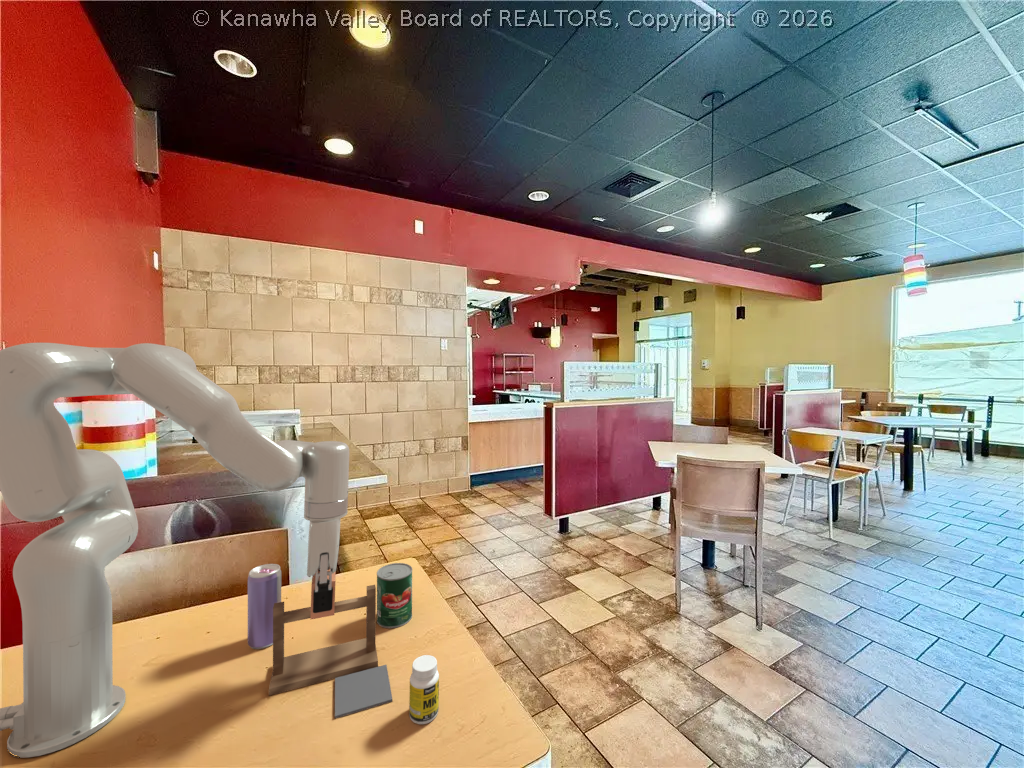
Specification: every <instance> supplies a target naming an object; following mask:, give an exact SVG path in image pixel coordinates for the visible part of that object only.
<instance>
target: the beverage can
mask: <svg viewBox="0 0 1024 768" xmlns="http://www.w3.org/2000/svg"><path fill="white" fill-rule="evenodd" d="M279 602H282V570H281V566H280V565H279V564H277V563H265V564H261V565H258V566H256V567H254V568H252V569H251V570H249V572H248V576H247V645H248V646H249V648H251V649H252V650H262V649H265V648H269V647H272V646H273V606H274V603H279Z"/></svg>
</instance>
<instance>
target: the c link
mask: <svg viewBox="0 0 1024 768" xmlns="http://www.w3.org/2000/svg"><path fill="white" fill-rule="evenodd" d="M327 571H330V570H327ZM336 571H337V570H336ZM336 571H335V572H334V573H333V572H332V587H333V601H332V610H330V611H324V612H319V613H313V595H314V590H315V579H316V576H315V575H316V572H315V575H314V576H311V577H312V578H311V585H310V586H311V591H310V607H311V617H310V618H309V619H310V620H316V619H320V618H321V619H322V618H326V617H331V616H335V613H334V611H335V602H336V580H337V579H336V573H337V572H336ZM318 573H320V571H318ZM327 579H328V580H329V575H328V576H327ZM319 580H320V577H319ZM328 586H329V585H328Z"/></svg>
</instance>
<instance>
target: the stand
mask: <svg viewBox="0 0 1024 768" xmlns="http://www.w3.org/2000/svg"><path fill="white" fill-rule="evenodd" d="M360 608H361V609H362V608H366V616H365V617H366V618H365V619H366V621H365V622H366V623H365V625H366V629H365V631H366V632H365V633H366V634H365V635H366V637H365V638H361V639H360V638H359V639H355V640H352V641H348V642H344V643H340V644H339V643H337V644H334V645H331V646H330V645H329V646H326V647H322V648H318V649H314V650H309V651H305V652H301V653H296V654H292V655H287V656H285V624H288V623H292V622H293V623H294V622H298V621H304V620H308V619H310V617H311V606H308V607H302V608H297V609H291V610H287V611H285V601H281V602H279V603H274V606H273V645H272V672H271V677H270V682H269V688H268V696H272V695H276V694H280V693H281V694H282V693H284V692H287V691H288V692H289V691H292V690H293V691H294V690H296V689H300V688H303V687H308V686H311V685H315V684H319V683H322V682H326V681H330V680H335V678H337V677H341V676H345V675H349V674H352V673H356V672H360V671H364V670H367V669H371V668H375V667H379V659H378V652H377V651H378V650H377V644H376V631H377V629H376V626H377V625H376V624H377V623H376V622H377V586H376V584H372V585H366V595H364V596H359V597H354V598H350V599H343V600H338V601H335V611H334V614H337V613H338V614H339V613H342V612H347V611H351V610H357V609H360Z"/></svg>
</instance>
